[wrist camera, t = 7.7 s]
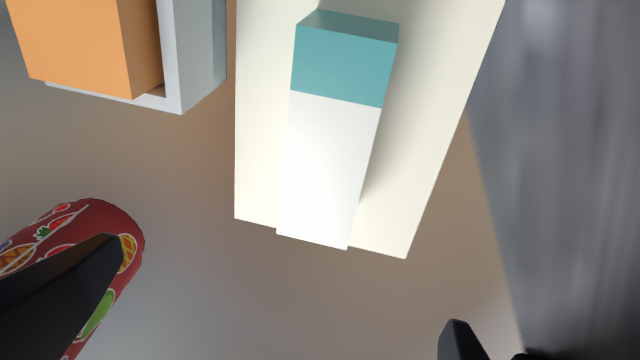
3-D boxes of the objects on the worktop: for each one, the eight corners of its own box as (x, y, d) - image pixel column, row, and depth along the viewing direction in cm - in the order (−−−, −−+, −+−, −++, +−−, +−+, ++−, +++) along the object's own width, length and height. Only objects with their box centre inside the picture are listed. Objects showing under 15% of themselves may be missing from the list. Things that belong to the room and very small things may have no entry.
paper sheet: (405, 256, 23) (405, 259, 23) (235, 215, 24) (234, 217, 24) (520, -42, 14) (522, -42, 14) (239, -90, 15) (237, -90, 14)
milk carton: (354, 206, 21) (346, 250, 18) (294, 192, 21) (276, 233, 19) (399, 23, 16) (398, 43, 13) (316, 8, 16) (295, 24, 13)
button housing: (226, 79, 18) (181, 115, 15) (115, 56, 19) (45, 85, 15) (225, -62, 15) (167, -62, 11) (90, -86, 16) (-7, -94, 12)
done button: (172, 76, 15) (132, 100, 13) (84, 57, 16) (30, 77, 13) (163, -33, 13) (111, -28, 11) (60, -53, 13) (-11, -51, 11)
